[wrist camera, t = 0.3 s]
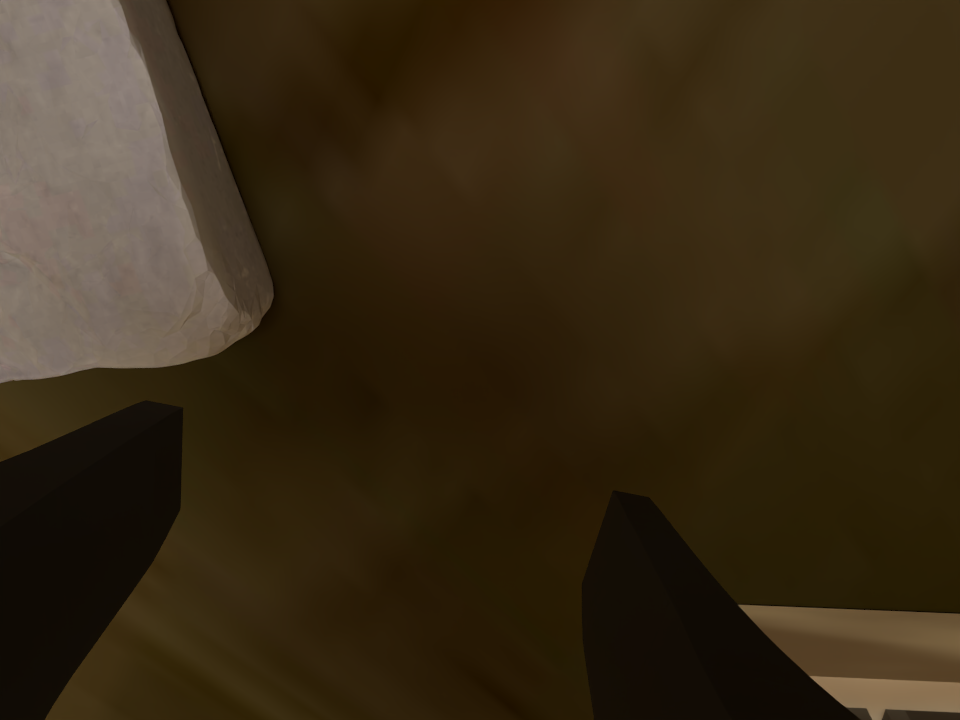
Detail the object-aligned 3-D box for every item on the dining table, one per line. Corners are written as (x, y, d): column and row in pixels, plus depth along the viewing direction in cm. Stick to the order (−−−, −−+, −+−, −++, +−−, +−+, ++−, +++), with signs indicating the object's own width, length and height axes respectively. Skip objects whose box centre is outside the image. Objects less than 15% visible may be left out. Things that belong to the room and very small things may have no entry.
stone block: (63, 351, 25) (315, 307, 21) (-65, 420, 20) (225, 380, 17) (-130, -30, 20) (150, -157, 17) (-341, -40, 16) (-24, -212, 13)
